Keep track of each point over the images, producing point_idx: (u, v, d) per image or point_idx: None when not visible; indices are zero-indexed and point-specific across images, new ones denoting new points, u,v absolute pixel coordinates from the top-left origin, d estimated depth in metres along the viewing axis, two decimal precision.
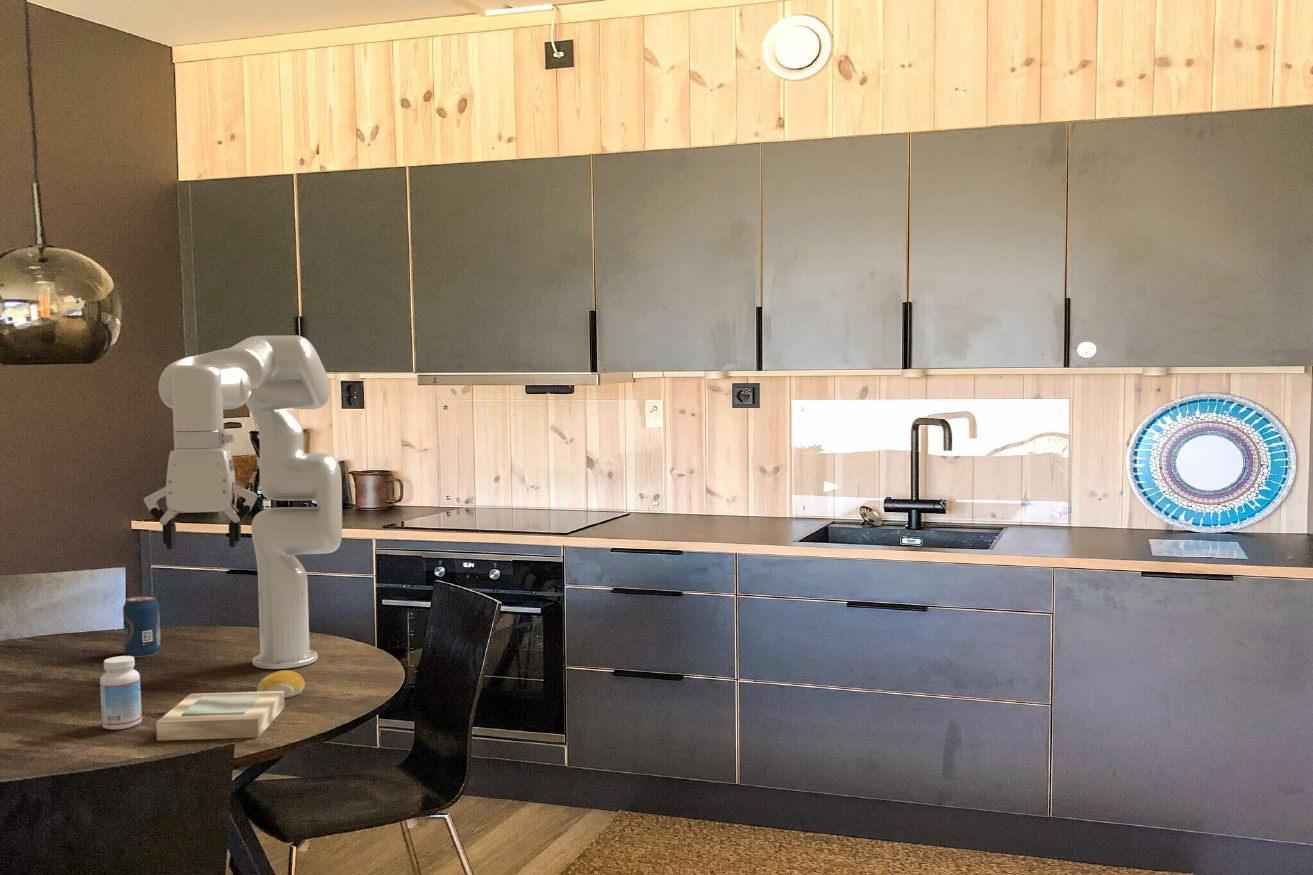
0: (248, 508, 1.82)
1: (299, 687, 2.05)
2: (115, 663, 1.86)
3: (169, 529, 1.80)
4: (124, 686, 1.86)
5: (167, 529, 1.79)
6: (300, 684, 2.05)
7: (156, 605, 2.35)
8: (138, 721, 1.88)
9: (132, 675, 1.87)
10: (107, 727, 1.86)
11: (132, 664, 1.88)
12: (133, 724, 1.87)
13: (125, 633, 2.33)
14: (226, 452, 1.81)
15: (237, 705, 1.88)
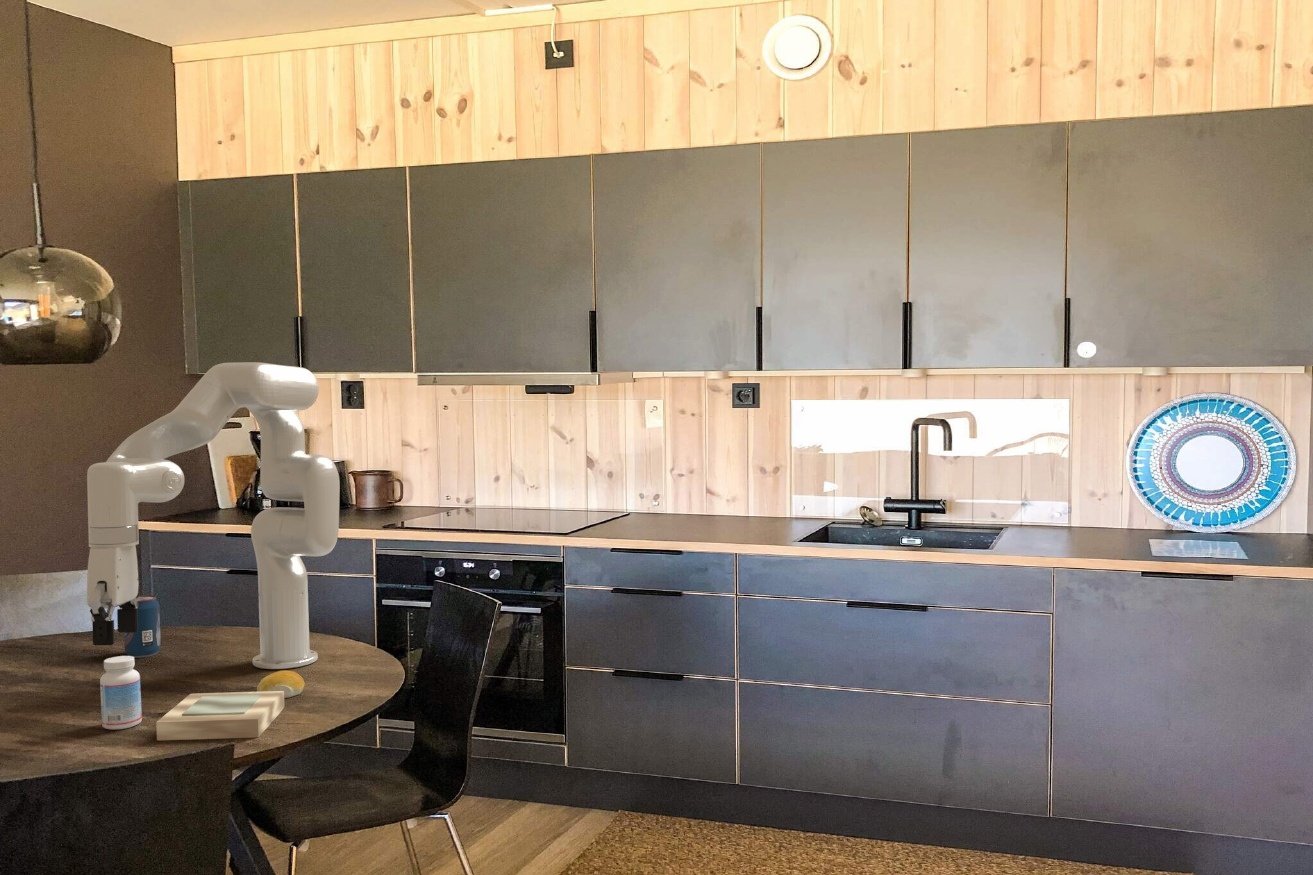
0: (138, 593, 1.94)
1: (299, 687, 2.05)
2: (115, 663, 1.86)
3: (113, 624, 1.83)
4: (123, 686, 1.86)
5: (113, 624, 1.82)
6: (300, 684, 2.05)
7: (156, 605, 2.35)
8: (138, 721, 1.88)
9: (132, 675, 1.87)
10: (107, 727, 1.86)
11: (132, 664, 1.88)
12: (133, 724, 1.87)
13: (125, 633, 2.33)
14: None
15: (237, 705, 1.88)
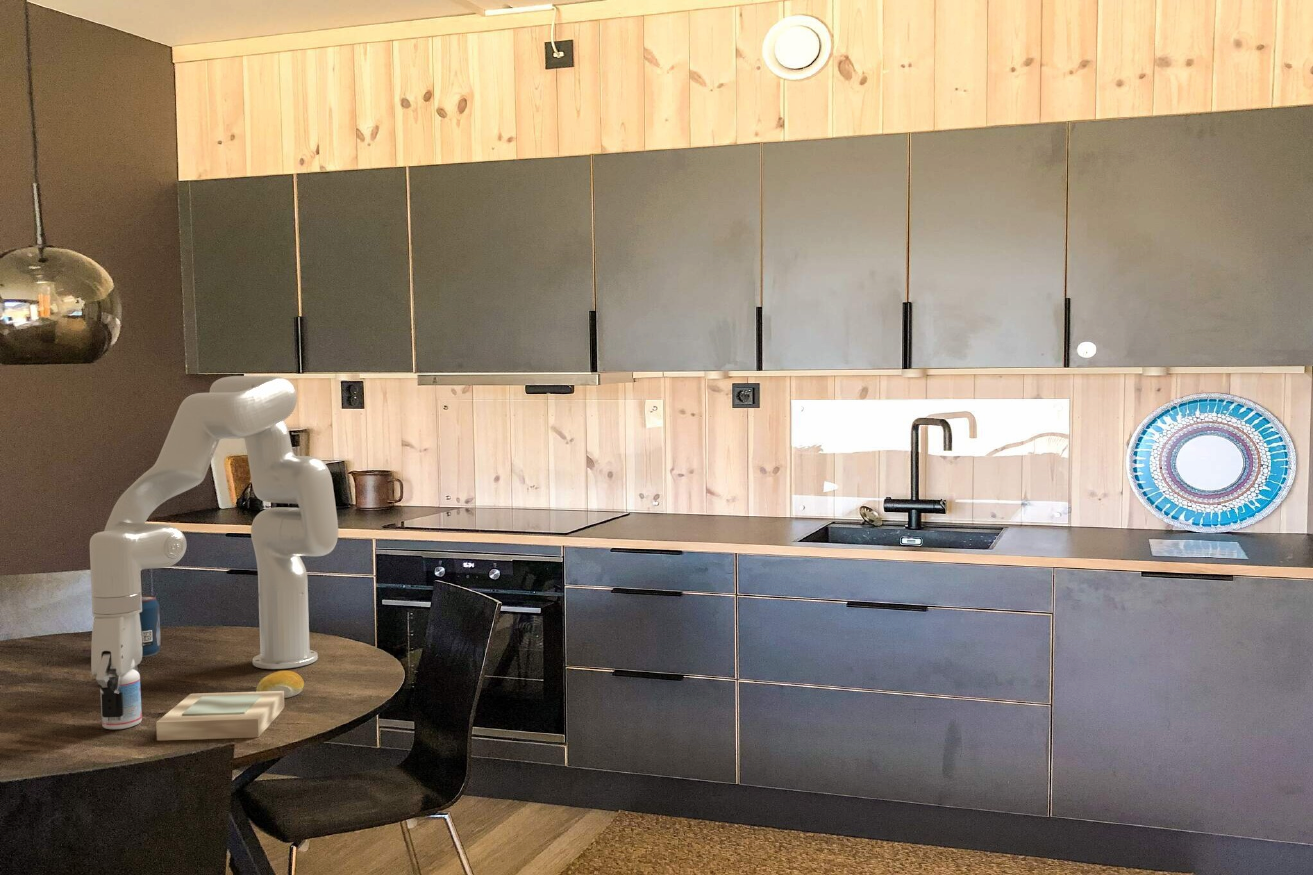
0: (139, 664, 1.94)
1: (298, 687, 2.05)
2: None
3: (122, 696, 1.85)
4: (123, 686, 1.86)
5: (122, 696, 1.85)
6: (299, 684, 2.05)
7: (156, 605, 2.35)
8: (138, 721, 1.88)
9: (132, 675, 1.87)
10: (107, 727, 1.86)
11: (132, 664, 1.88)
12: (133, 724, 1.87)
13: None
14: None
15: (237, 705, 1.88)
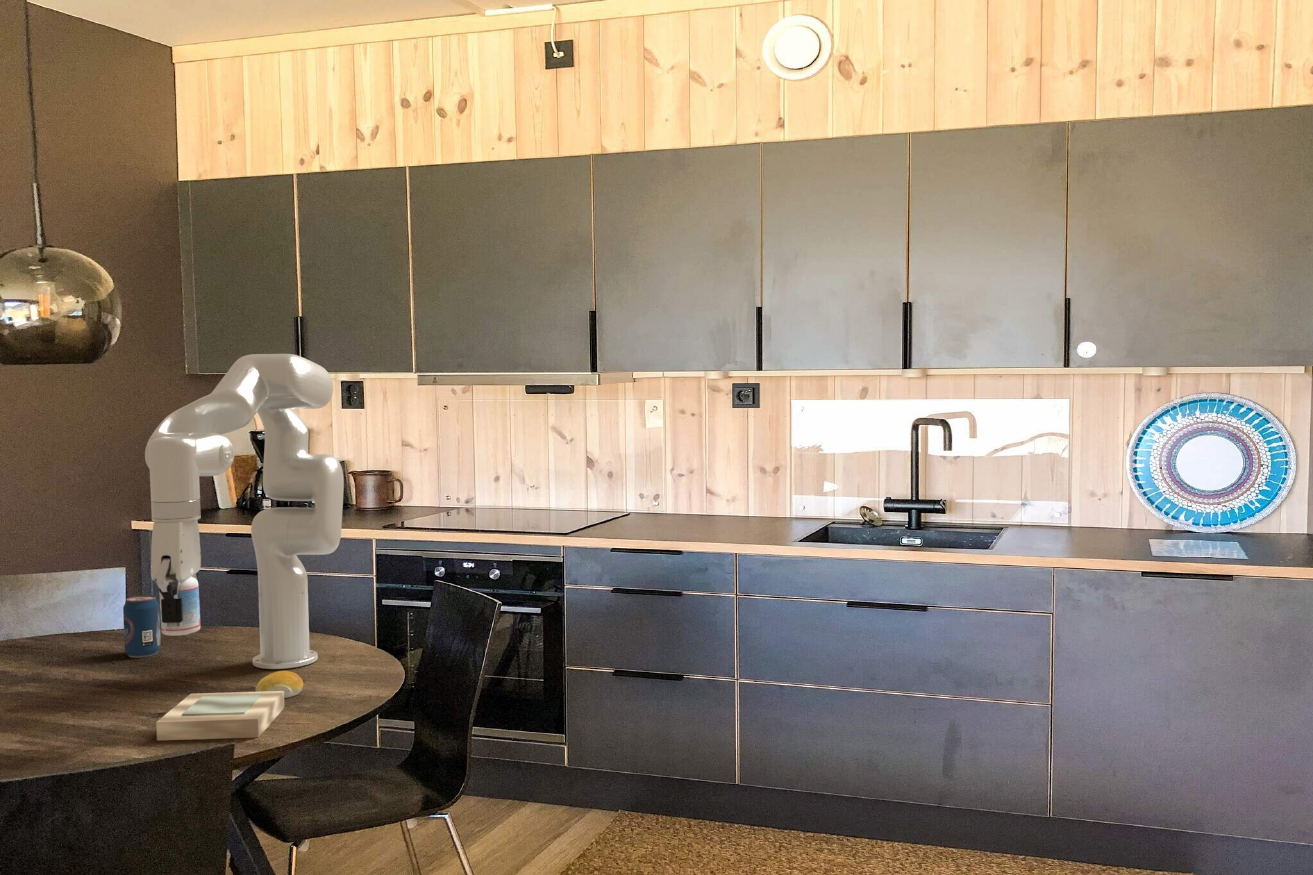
0: (197, 574, 1.93)
1: (298, 687, 2.05)
2: None
3: (181, 602, 1.84)
4: (183, 592, 1.85)
5: (181, 602, 1.84)
6: (298, 684, 2.05)
7: (156, 605, 2.35)
8: (197, 628, 1.87)
9: (191, 582, 1.86)
10: (166, 633, 1.85)
11: (191, 571, 1.87)
12: (192, 631, 1.86)
13: (125, 633, 2.33)
14: None
15: (237, 705, 1.88)
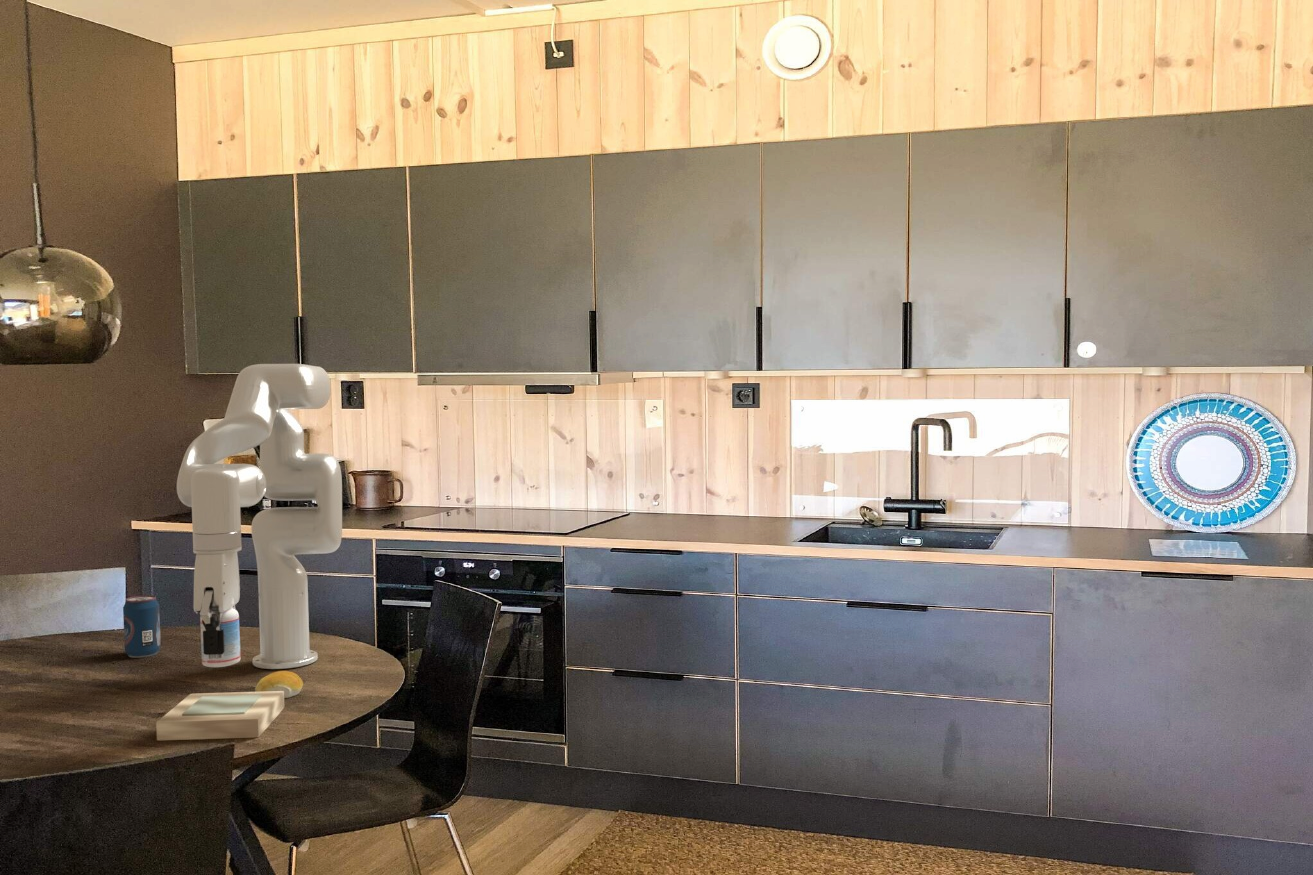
0: (235, 605, 1.94)
1: (297, 688, 2.05)
2: None
3: (223, 633, 1.85)
4: (224, 623, 1.85)
5: (223, 634, 1.84)
6: (298, 685, 2.05)
7: (156, 605, 2.35)
8: (238, 659, 1.88)
9: (232, 613, 1.87)
10: (208, 665, 1.85)
11: (232, 602, 1.87)
12: (233, 662, 1.87)
13: (125, 633, 2.33)
14: None
15: (237, 705, 1.88)
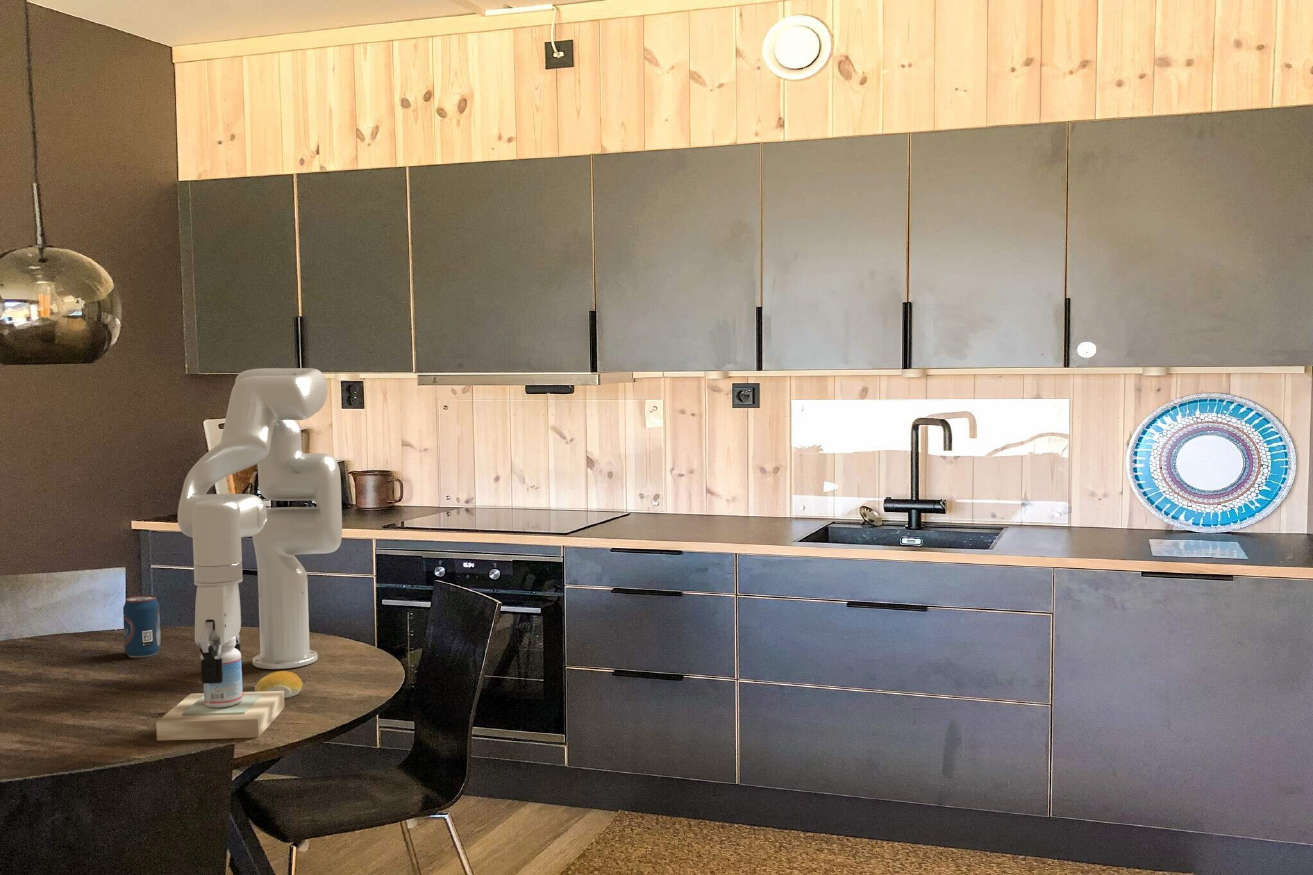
0: None
1: (297, 688, 2.04)
2: None
3: (221, 662, 1.84)
4: (227, 664, 1.86)
5: (221, 662, 1.83)
6: (298, 685, 2.05)
7: (156, 605, 2.35)
8: (240, 699, 1.88)
9: (235, 653, 1.87)
10: (210, 705, 1.86)
11: (234, 642, 1.88)
12: (235, 702, 1.87)
13: (125, 633, 2.33)
14: None
15: (237, 705, 1.88)
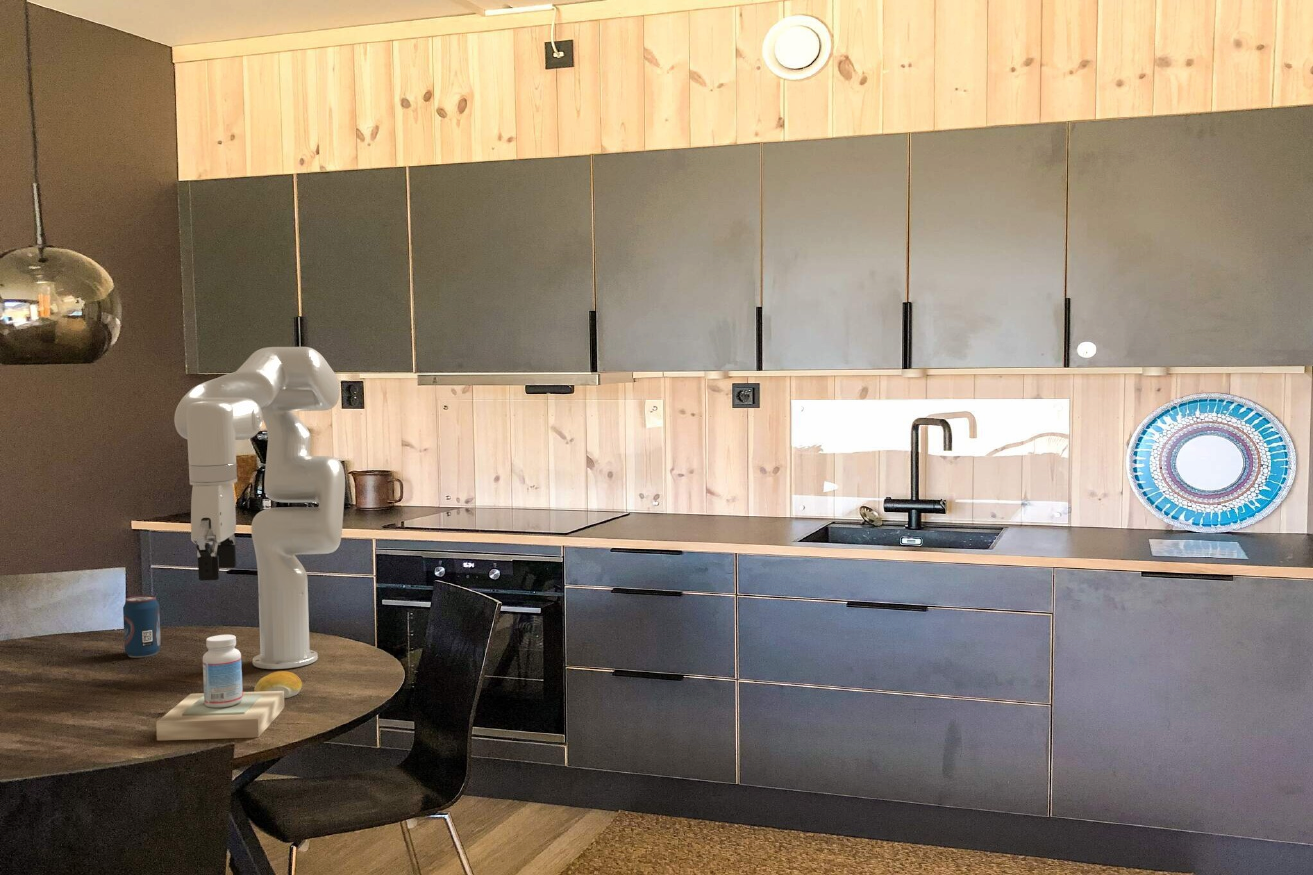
0: None
1: (296, 688, 2.04)
2: (218, 641, 1.86)
3: (218, 560, 1.87)
4: (227, 664, 1.86)
5: (218, 560, 1.87)
6: (297, 685, 2.05)
7: (156, 605, 2.35)
8: (240, 699, 1.88)
9: (235, 653, 1.87)
10: (210, 705, 1.86)
11: (234, 643, 1.88)
12: (235, 702, 1.87)
13: (125, 633, 2.33)
14: None
15: (237, 705, 1.88)
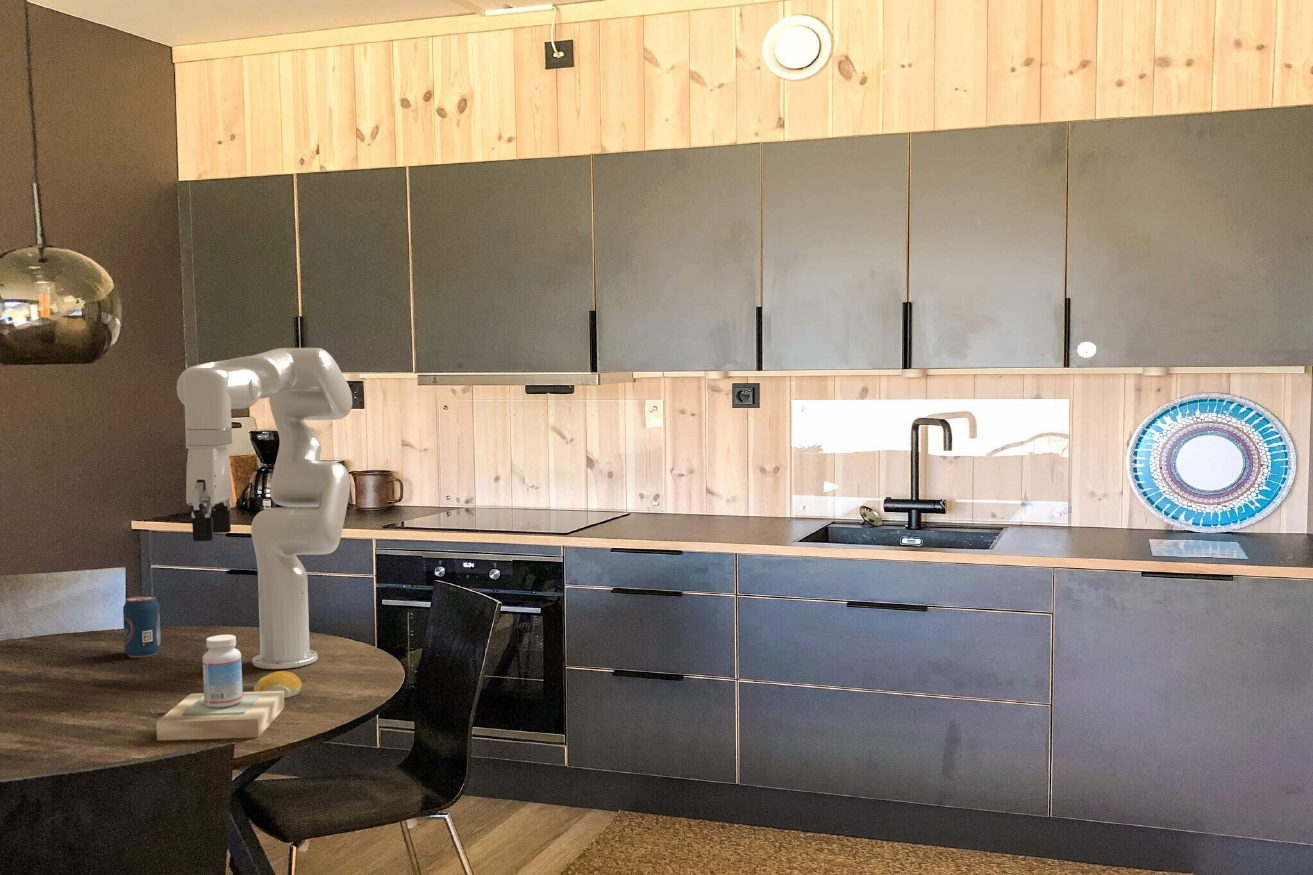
0: None
1: (296, 688, 2.04)
2: (218, 641, 1.86)
3: (212, 521, 1.92)
4: (227, 664, 1.86)
5: (212, 521, 1.92)
6: (297, 685, 2.05)
7: (156, 605, 2.35)
8: (240, 699, 1.88)
9: (235, 653, 1.87)
10: (210, 705, 1.86)
11: (234, 643, 1.88)
12: (235, 702, 1.87)
13: (125, 633, 2.33)
14: None
15: (237, 705, 1.88)
